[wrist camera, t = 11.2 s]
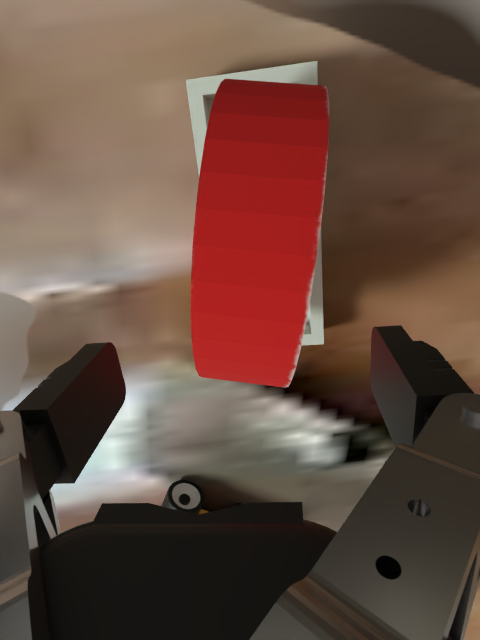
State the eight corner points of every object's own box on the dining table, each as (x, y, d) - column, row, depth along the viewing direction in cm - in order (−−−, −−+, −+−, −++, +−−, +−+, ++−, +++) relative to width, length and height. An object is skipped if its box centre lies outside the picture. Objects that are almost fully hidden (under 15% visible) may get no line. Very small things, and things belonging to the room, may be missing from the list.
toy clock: (241, 102, 33) (198, 30, 14) (309, 108, 32) (352, 41, 14) (226, 314, 41) (186, 441, 22) (280, 320, 40) (284, 454, 22)
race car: (227, 568, 59) (218, 648, 49) (136, 537, 58) (109, 613, 48) (263, 506, 53) (261, 584, 43) (163, 471, 52) (138, 542, 42)
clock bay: (227, 335, 43) (223, 349, 40) (194, 87, 33) (185, 79, 30) (320, 329, 41) (323, 344, 38) (313, 70, 32) (317, 60, 29)
